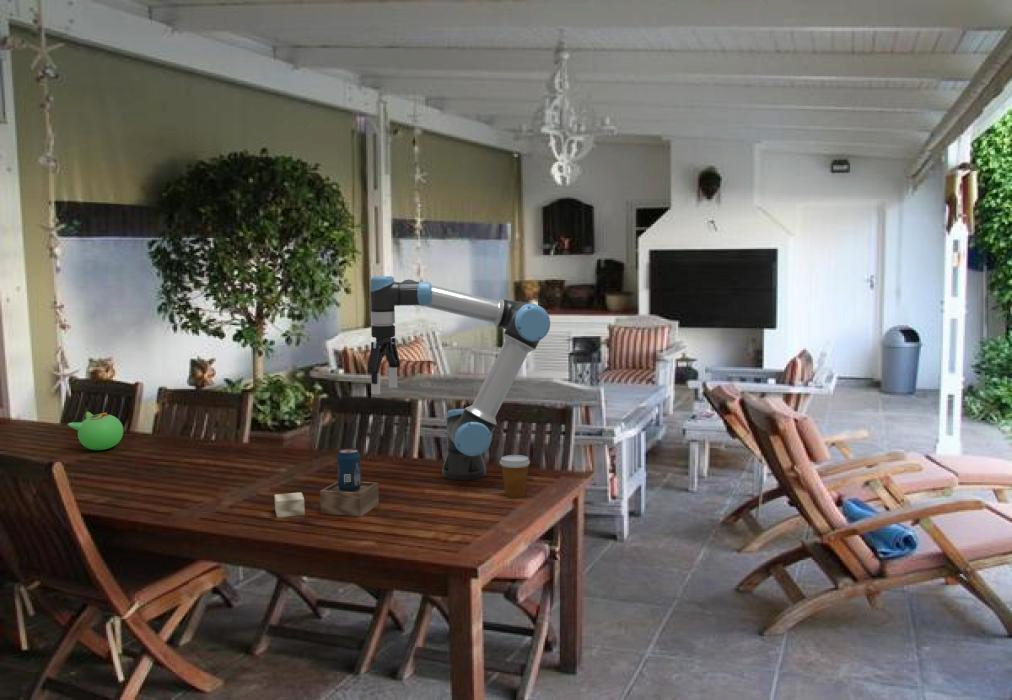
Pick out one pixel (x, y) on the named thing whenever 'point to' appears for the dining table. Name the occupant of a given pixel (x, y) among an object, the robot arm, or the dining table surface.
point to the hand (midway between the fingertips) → (384, 390)
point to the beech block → (289, 504)
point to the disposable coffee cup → (514, 474)
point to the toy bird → (98, 431)
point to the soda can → (349, 470)
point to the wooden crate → (349, 500)
